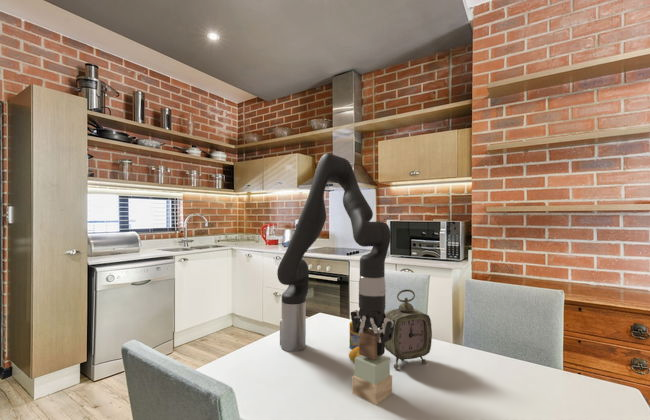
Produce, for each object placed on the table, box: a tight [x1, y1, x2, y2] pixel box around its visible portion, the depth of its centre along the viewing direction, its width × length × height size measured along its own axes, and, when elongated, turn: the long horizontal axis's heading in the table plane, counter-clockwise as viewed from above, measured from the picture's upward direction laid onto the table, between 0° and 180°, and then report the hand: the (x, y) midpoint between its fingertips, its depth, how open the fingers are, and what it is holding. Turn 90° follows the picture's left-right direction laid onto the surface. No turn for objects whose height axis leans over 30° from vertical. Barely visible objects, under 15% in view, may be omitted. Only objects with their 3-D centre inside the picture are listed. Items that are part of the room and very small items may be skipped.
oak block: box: [351, 374, 393, 406], centre depth 90 cm, size 8×8×5 cm
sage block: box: [354, 354, 391, 385], centre depth 90 cm, size 7×7×5 cm
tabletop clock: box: [383, 289, 433, 370], centre depth 109 cm, size 14×9×25 cm, turn 109°
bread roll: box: [348, 347, 360, 364], centre depth 111 cm, size 8×9×4 cm
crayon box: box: [349, 318, 369, 350], centre depth 119 cm, size 7×3×12 cm, turn 49°
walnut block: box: [359, 328, 385, 360], centre depth 90 cm, size 5×5×6 cm
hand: (371, 351), depth 90 cm, fingers closed on walnut block, 5 cm apart
